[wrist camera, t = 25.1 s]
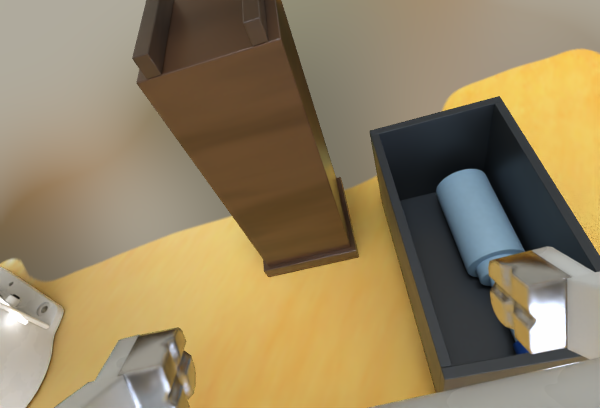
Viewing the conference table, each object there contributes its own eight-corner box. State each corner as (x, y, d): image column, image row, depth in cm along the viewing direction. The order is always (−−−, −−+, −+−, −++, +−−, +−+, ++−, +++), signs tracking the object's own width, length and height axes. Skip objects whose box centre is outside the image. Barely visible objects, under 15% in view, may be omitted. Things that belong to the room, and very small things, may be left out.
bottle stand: (358, 257, 43) (282, 15, 21) (268, 277, 44) (111, 69, 23) (342, 184, 49) (270, -63, 27) (263, 204, 50) (135, -15, 29)
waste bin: (590, 387, 31) (655, 343, 22) (441, 411, 33) (444, 380, 24) (486, 178, 44) (499, 95, 35) (382, 202, 46) (369, 130, 37)
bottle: (529, 367, 34) (587, 347, 30) (490, 364, 31) (549, 342, 28) (458, 205, 44) (496, 176, 41) (425, 193, 42) (463, 162, 38)
